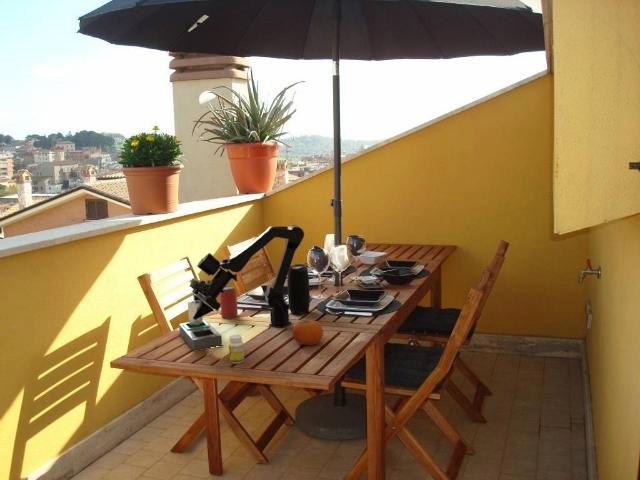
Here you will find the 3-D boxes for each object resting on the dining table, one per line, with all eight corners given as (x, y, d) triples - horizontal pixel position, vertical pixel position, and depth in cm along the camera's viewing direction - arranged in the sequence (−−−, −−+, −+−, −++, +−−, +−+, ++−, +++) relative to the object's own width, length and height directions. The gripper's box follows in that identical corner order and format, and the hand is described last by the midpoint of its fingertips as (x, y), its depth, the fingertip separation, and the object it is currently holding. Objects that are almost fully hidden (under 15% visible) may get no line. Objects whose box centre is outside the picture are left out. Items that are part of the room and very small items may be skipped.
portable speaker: (286, 315, 255) (283, 268, 252) (293, 308, 264) (290, 263, 261) (306, 316, 253) (304, 268, 249) (313, 309, 262) (310, 263, 258)
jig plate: (222, 346, 221) (221, 334, 220) (194, 351, 217) (193, 339, 216) (205, 329, 241) (205, 318, 240) (179, 334, 236) (178, 322, 236)
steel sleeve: (206, 335, 234) (204, 301, 232) (196, 338, 230) (194, 304, 228) (196, 333, 237) (194, 299, 235) (187, 336, 233) (184, 302, 231)
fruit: (327, 339, 223) (326, 318, 222) (317, 349, 213) (316, 327, 212) (299, 337, 227) (298, 316, 225) (288, 347, 217) (287, 325, 216)
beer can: (234, 318, 253) (232, 289, 251) (219, 318, 255) (217, 289, 253) (239, 314, 260) (238, 285, 258) (224, 313, 261) (222, 285, 259)
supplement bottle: (230, 359, 208) (228, 334, 206) (244, 358, 208) (243, 333, 207) (229, 364, 203) (227, 339, 202) (244, 363, 203) (242, 338, 202)
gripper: (195, 266, 239) (168, 298, 236) (209, 275, 223) (181, 310, 220) (216, 283, 244) (191, 315, 241) (232, 293, 227) (204, 328, 225)
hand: (191, 316), depth 231 cm, fingers open, 6 cm apart
